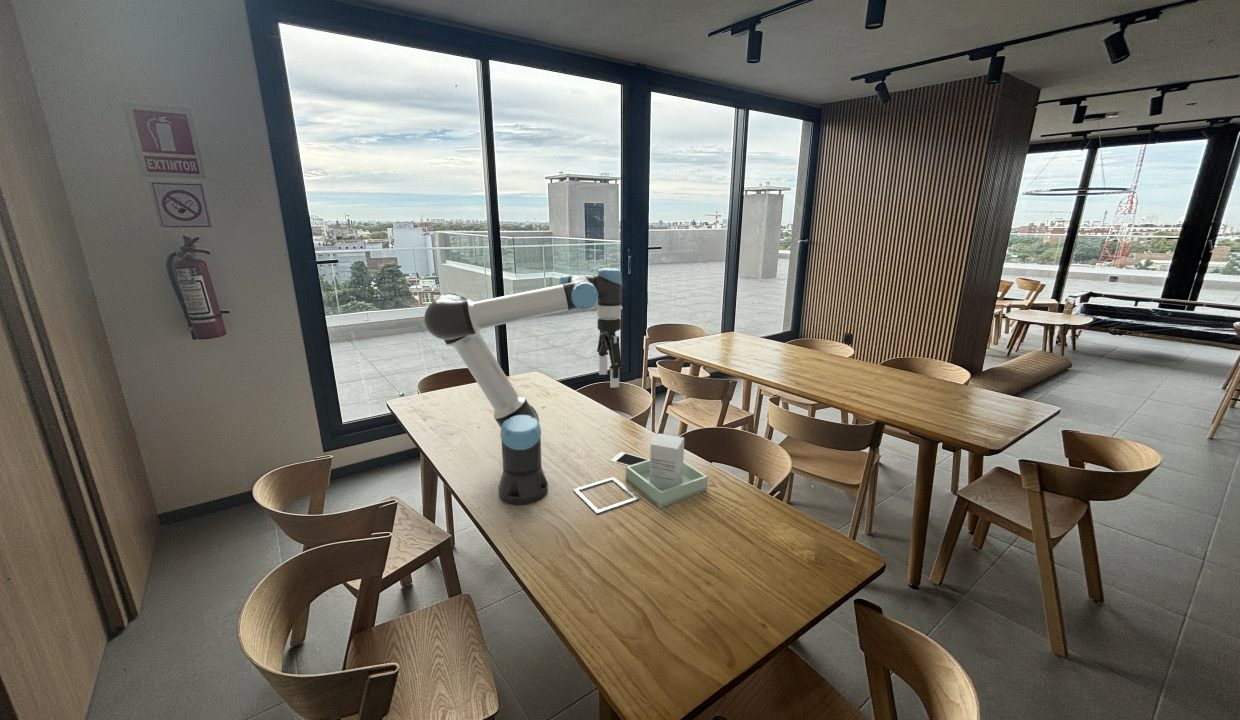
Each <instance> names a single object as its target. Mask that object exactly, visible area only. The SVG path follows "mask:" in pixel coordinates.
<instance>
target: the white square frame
mask: <svg viewBox="0 0 1240 720" xmlns="http://www.w3.org/2000/svg"><path fill="white" fill-rule="evenodd" d="M610 482H613V483H615V485H617V486H618V487H619V488H620V489H621V490H622V491H624V492H625V493H626V494H627V495H629V496H630V497H631V498H628V499H626V500H623V501H620V502H617V503H614V504H612V505H609V506H605V507H602V508H600V509H598V508H597V506H595V505H594V504H593V502H592V501H590V500H589V499H588V498H587V497H586V496H585V495H584V494H583V493H582V492H581V491H585V490H588V489H591V488H594V487H598V486H600V485H603V484H606V483H610ZM573 492H574V494H576V495H577V496H578V497H579V498H580V499H581V501H583V502H584V504H585V505H587V506H588V507H589V508H590V509H591V510H592V511H593V513H595V515H600V514H602V513H605V512H608V511H612V510H614V509H617V508H620V507H624V506H625V505H628V504H629V505H630V504H631V503H634V502H635V503H636V502H637V501H640V497H639V496H637V495H636V494H635V493H634V492H633V491H631V490H630V489H629V488H628V487H626V485H624V484H623V483H622V482H620V481H619V480H618V479H617V478H616V477H614V476H612V477H610V478H609V477H608V478H605V479H603V480H598V481H595V482H592V483H589V484H586V485H583V486H579V487H576V488H573Z"/></svg>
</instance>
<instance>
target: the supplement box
mask: <svg viewBox="0 0 1240 720" xmlns="http://www.w3.org/2000/svg"><path fill="white" fill-rule="evenodd" d="M684 452H685V437H682V436H676V435H669V434H665V433H658V434H657V436H656V437H655V438H654V439H653V440H652V442H651V444H650V457H649V458H650V459H649V460H650V483H651V484H652V485H654V486H655V487H656V488H658V489H663V490H666V489H669V488H672V487H675V486H678V485H680V483H681V481H682V477H683V461H684V457H685V456H684V455H685V454H684Z"/></svg>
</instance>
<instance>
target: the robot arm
mask: <svg viewBox="0 0 1240 720" xmlns="http://www.w3.org/2000/svg"><path fill="white" fill-rule="evenodd" d="M558 281H559V283H558V285H553V286H549V287H543V288H538V289H534V290H528V291H523V292H517V293H514V294H509V295H503V296H498V297H494V298H493V297H492V298H489V299H484V300H479V301H473V300H471V299H467V298H466V297H465V296H464V295H462V294H461V293H459V292H458V293H457V292H445V293H443V294H441V295H440V294H439V296H437V297H435V298H434V300H433V301H432V302H431V303H430V304H429V305H428V306H427V308H426V310H425V312H424V318H423V319H424V325H425V328H426V329H427V331H428V332H429V333H430V334H431V335H432V336H434V337H435V338H437V339H440V340H443V342H444V343H445V344H446V346H449V347H453V348H455V351H456V352H457V353H458V355H459V357H460V358H461V359H462V361H463V363H464V365H466V368H467V369H468V371H469V372H470V374H471V375H472V376H473V379H474V380H475V381H476V382H477V385H478V386H479V388H480V389H481V391H482V392H483V394H484V396H485V397H486V398H487V401H488V402H489V403H490V404H491V406H492V408H493V409H494V412H493V415H492V416H493V419H494V420H495V422H497V424H498V426H499V428H500V432H499V433H500V435H499V436H500V439H501V455H502V473H501V476H500V480H499V483H498V488H497V489H498V490H497V491H498V497H499V499H500V500H501V501H503V502H505V504H510V505H516V506H523V505H528V504H529V505H530V504H534V503H536V502H538V501H540V500H542V499H544V498H545V497H546V496H547V494H548V491H549V484H548V480H547V477H546V475H545V473H544V470H543V468H542V439H541V437H542V436H541V435H542V429H541V424H540V418H539V414H538V412H537V411H536V409H535V408H534V406H532V405H531V404H530V403H529V402H528V400H527V399H526V397H525V396H522V395H518V393H517V391H516V390H515V388H514V386H513V385H512V383H511V381H510V380H509V379H508V377H507V375H506V374H505V372H504V370H503V368H501V365H500V364H499V362H498V361H497V359H496V357H495V356H494V355H493V353H492V351H491V350H490V348H489V346H488V344H487V343H486V341H485V340H484V337H483V336H482V335H481V334H480V331H481V329H482V330H483V329H487V328H490V327H491V328H492V327H495V326H501V325H506V324H510V323H514V322H519V321H523V320H528V319H533V318H538V317H541V316H547V315H552V314H557V313H561V312H566V311H572V310H576V309H580V310H589V309H590V310H591V309H592V308H593V307H594V306H595V305H597V309H596V310H597V317H598V318H597V330H599V337H598V344H597V349H596V351H597V353H598V355H599V356H598V374H599V375H600V376H601V375H603V376H604V375H608V355H609V360H610V366H609V370H610V376H609V377H610V381H609V382H610V384H609V385H610V386H609V387H610V388H619V387H620V369H621V368H623V365H622V364H623V363H622V356H621V349H620V336H617V334H616V332H618V331H620V330H621V328H622V319H621V316H622V310H623V306H622V289H623V288H622V287H623V286H622V285H623V282H622V281H623V280H622V271H621V270H620V269H618V268H613V267H605V268H603V267H601V268H598V270H597V273H596V274H594V275H589V274H588V275H586V274H585V275H583V274H582V275H578V274H576V275H575V274H574V275H573V274H569V275H562V276H560V277H559V280H558Z"/></svg>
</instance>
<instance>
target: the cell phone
mask: <svg viewBox="0 0 1240 720" xmlns="http://www.w3.org/2000/svg"><path fill="white" fill-rule="evenodd" d="M647 460H650V459H649V458H646V457H642V456H638V455H634V454H631V453H628V452H624V451H620V452H619V453H617V454H616V455H615V456H613V457H612V458H611V459H610V462H613V463H616V464H620V465H623V466H625V467H627V466H630V465H633V464H637V463H640V462H643V461H647Z"/></svg>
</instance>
